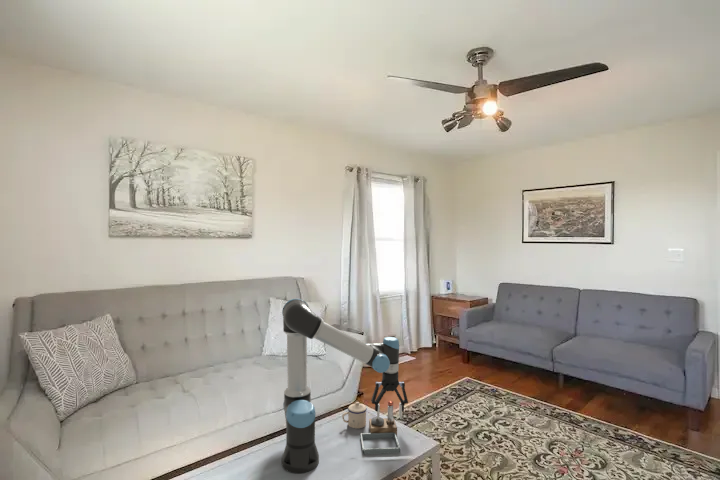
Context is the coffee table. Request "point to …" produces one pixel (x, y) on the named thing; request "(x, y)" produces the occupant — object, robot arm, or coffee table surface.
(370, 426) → the tan wooden block
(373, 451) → the tray
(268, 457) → the coffee table surface
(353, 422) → the teacup with lid
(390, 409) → the pin
